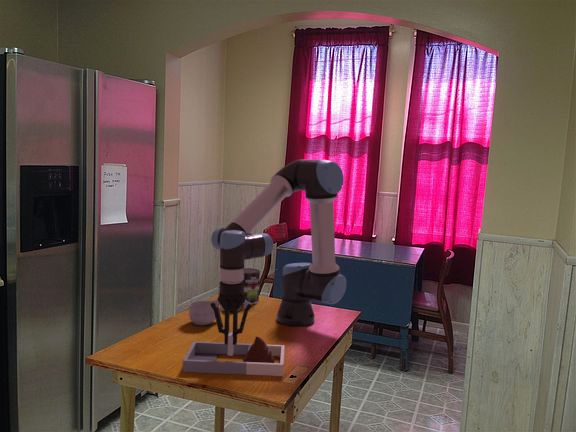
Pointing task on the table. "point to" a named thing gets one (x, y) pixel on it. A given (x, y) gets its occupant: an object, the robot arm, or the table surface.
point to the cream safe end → (268, 364)
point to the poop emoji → (259, 352)
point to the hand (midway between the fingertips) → (230, 354)
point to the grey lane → (214, 358)
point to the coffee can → (251, 285)
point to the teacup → (202, 312)
